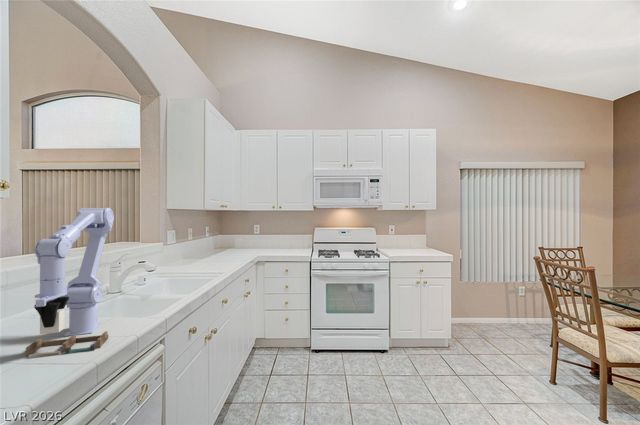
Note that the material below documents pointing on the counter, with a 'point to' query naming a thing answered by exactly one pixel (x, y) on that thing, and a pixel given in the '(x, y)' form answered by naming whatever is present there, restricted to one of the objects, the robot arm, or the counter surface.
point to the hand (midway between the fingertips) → (52, 324)
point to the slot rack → (65, 345)
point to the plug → (57, 326)
